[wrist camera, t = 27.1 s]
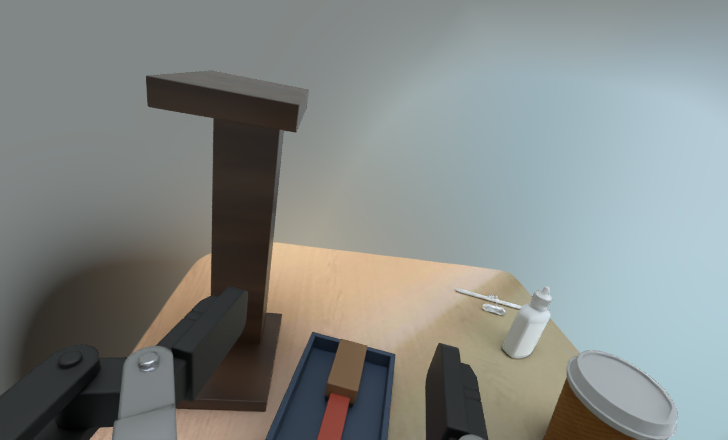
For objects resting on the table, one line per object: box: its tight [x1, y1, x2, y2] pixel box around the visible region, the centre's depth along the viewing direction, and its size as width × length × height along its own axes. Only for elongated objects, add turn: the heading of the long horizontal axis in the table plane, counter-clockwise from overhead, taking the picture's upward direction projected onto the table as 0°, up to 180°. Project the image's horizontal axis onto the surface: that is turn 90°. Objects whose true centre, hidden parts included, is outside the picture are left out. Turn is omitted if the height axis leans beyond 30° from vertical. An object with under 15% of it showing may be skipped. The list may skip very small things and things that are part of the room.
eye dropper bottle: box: [502, 286, 552, 358], centre depth 51 cm, size 4×6×12 cm
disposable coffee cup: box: [543, 350, 678, 440], centre depth 36 cm, size 10×10×12 cm
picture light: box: [454, 288, 523, 315], centre depth 63 cm, size 14×4×2 cm, turn 78°
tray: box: [265, 332, 395, 440], centre depth 35 cm, size 21×11×3 cm, turn 171°
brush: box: [317, 339, 367, 440], centre depth 36 cm, size 17×4×3 cm, turn 171°
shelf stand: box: [146, 71, 309, 411], centre depth 36 cm, size 14×10×32 cm
